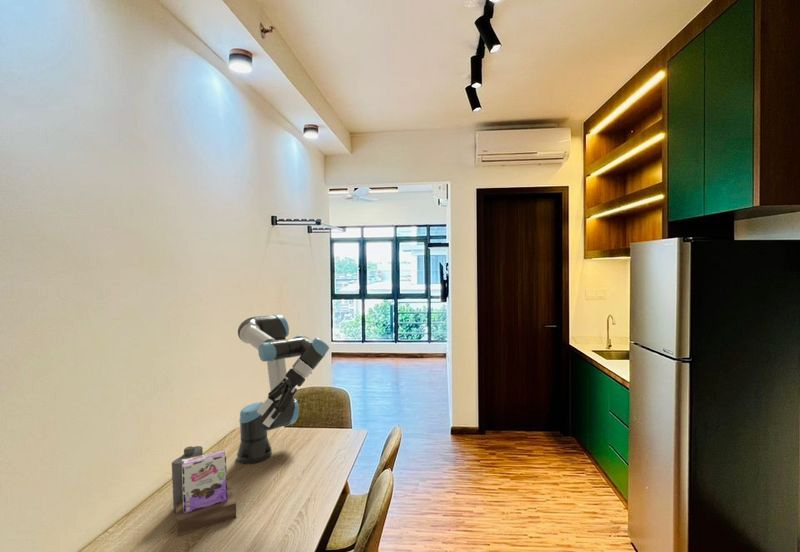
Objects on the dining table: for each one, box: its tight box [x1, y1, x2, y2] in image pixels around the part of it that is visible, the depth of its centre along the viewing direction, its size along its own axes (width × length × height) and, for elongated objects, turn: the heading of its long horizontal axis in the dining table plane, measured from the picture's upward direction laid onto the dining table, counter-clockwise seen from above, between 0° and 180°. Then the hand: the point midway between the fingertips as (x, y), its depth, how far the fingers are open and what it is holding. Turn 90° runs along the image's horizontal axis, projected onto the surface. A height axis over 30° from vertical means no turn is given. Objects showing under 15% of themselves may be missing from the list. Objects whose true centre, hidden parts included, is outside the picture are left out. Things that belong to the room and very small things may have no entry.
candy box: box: [182, 449, 228, 513], centre depth 141 cm, size 14×6×16 cm, turn 120°
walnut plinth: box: [175, 487, 237, 537], centre depth 141 cm, size 12×18×5 cm, turn 121°
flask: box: [171, 445, 204, 513], centre depth 152 cm, size 15×6×20 cm, turn 176°
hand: (262, 419), depth 154 cm, fingers open, 13 cm apart
